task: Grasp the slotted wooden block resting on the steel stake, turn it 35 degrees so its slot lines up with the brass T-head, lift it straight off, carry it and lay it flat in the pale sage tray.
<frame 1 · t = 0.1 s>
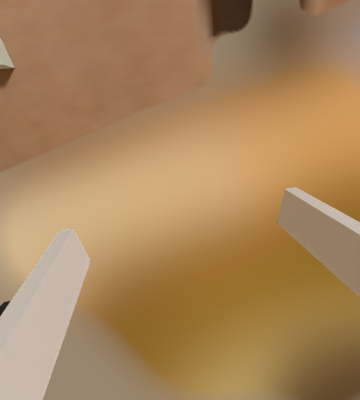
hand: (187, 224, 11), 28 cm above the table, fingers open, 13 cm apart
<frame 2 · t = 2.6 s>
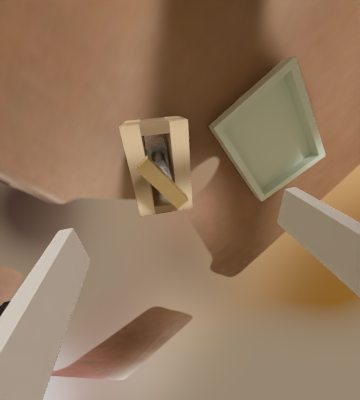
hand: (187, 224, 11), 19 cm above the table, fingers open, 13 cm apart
slotted wooden block: (158, 158, 24), point 4 cm above the table, touching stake
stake: (156, 151, 27), on the table
tray: (265, 140, 29), on the table
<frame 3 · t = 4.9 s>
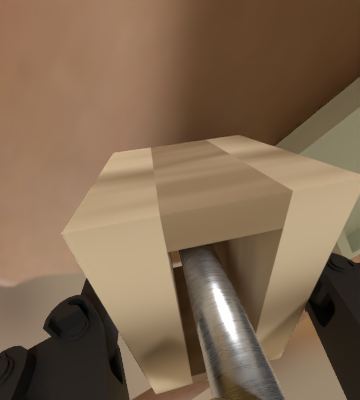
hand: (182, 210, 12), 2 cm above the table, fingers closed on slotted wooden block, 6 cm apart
slotted wooden block: (186, 222, 11), point 4 cm above the table, touching gripper, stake
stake: (176, 194, 15), on the table
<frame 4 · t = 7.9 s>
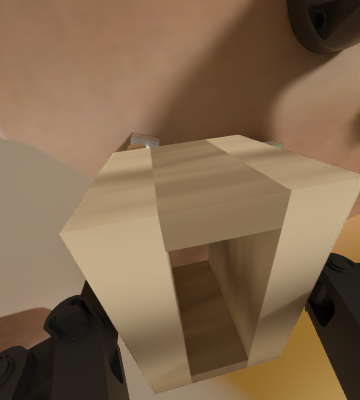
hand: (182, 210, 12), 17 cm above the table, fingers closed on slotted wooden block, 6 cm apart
slotted wooden block: (186, 222, 11), point 18 cm above the table, touching gripper
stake: (143, 147, 26), on the table
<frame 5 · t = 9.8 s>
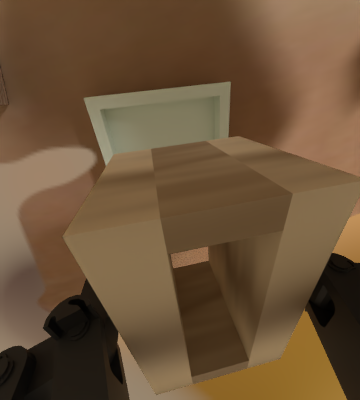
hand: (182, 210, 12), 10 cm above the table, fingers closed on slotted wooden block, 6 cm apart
slotted wooden block: (186, 223, 11), point 12 cm above the table, touching gripper
tray: (169, 170, 22), on the table
when the fingers open (3 cm above the table, at t = 11.2 s): slotted wooden block drops 3 cm, resting on tray.
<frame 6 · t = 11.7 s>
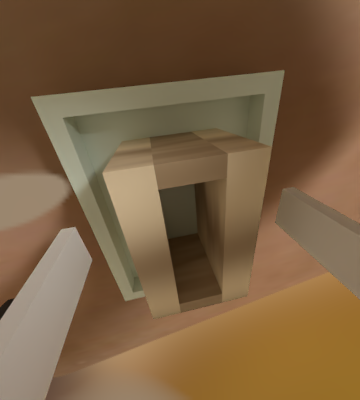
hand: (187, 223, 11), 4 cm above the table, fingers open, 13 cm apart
slotted wooden block: (178, 198, 14), point 1 cm above the table, touching tray
tray: (177, 201, 15), on the table
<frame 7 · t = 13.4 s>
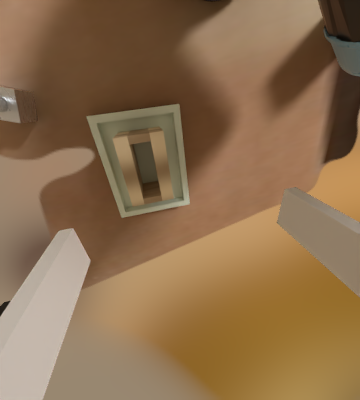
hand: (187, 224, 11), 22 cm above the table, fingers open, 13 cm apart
slotted wooden block: (145, 160, 29), point 1 cm above the table, touching tray
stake: (19, 104, 23), on the table
tray: (146, 163, 30), on the table
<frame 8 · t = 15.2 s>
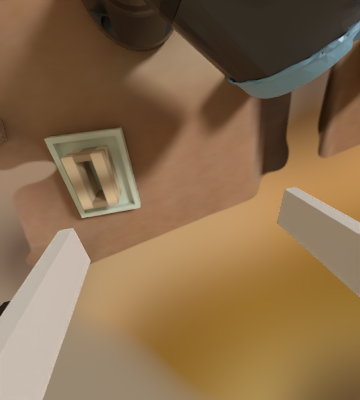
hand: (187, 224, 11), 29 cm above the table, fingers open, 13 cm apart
slotted wooden block: (99, 171, 36), point 1 cm above the table, touching tray
tray: (101, 173, 37), on the table
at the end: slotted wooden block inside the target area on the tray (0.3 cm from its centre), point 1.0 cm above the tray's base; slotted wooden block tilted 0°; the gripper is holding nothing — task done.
